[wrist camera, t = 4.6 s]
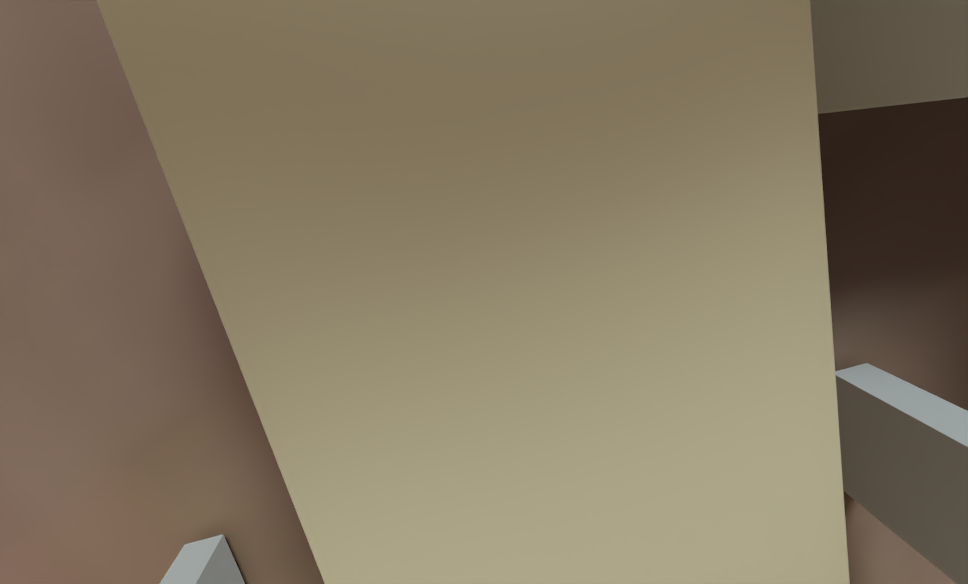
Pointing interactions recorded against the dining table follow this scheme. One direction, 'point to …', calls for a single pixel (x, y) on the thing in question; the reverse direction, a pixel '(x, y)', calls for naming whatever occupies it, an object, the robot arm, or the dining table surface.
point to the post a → (888, 52)
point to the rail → (516, 277)
